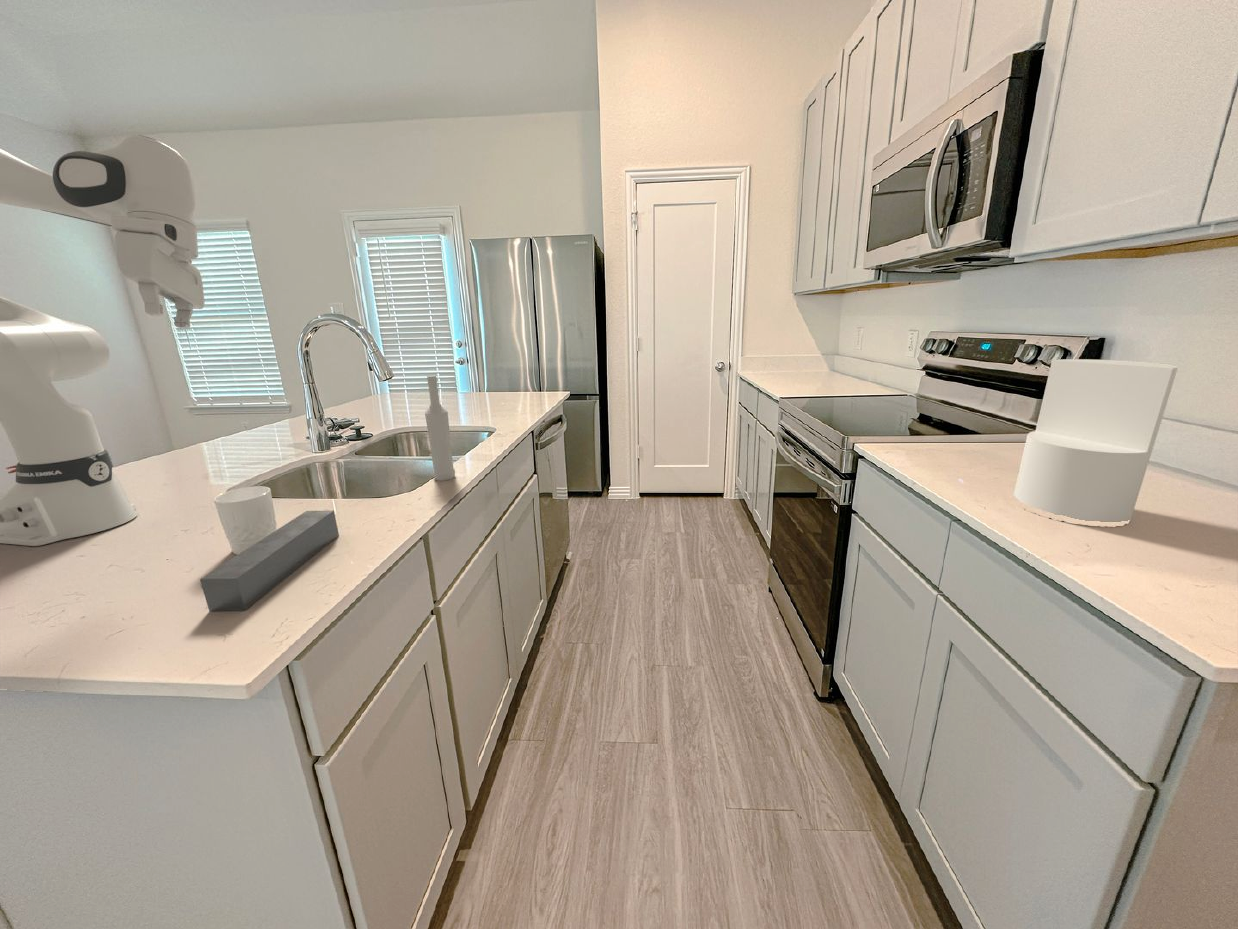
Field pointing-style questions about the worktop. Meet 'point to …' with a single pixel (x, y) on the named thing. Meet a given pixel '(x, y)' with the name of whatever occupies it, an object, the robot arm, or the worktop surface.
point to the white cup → (246, 516)
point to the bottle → (439, 435)
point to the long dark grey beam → (268, 562)
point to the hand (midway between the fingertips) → (169, 321)
